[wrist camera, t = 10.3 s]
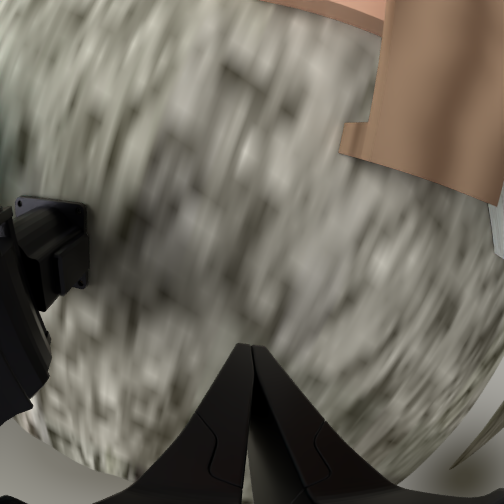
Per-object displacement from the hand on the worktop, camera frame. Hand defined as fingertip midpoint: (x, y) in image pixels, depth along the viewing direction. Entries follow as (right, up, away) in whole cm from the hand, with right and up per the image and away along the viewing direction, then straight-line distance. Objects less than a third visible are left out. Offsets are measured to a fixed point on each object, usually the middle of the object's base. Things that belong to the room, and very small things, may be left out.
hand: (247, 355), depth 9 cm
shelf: (+12, +18, +6) cm, 22 cm away
